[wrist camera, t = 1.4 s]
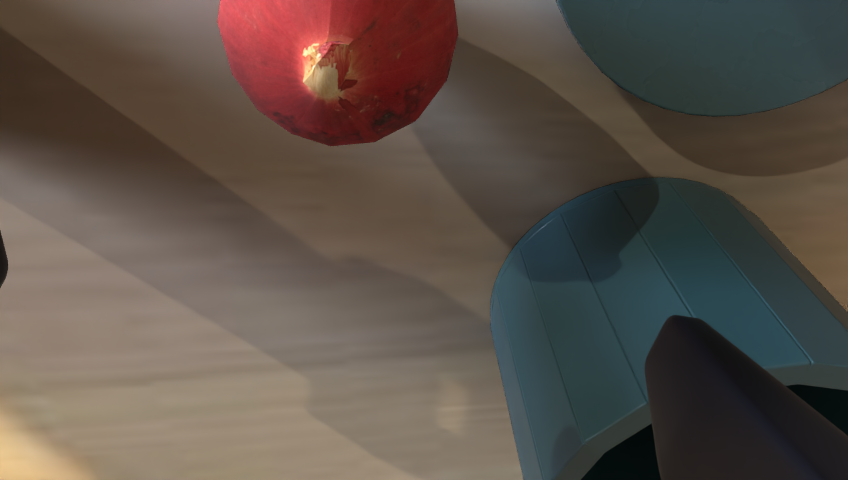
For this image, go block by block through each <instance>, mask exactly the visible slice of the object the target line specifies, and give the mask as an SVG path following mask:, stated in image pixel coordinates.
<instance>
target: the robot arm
mask: <svg viewBox="0 0 848 480" xmlns="http://www.w3.org/2000/svg"><path fill="white" fill-rule="evenodd" d="M7 271H8V259H7V255H6V251H5V247H4V243H3V239H2V235H1V231H0V288H1V286H2V284H3V282H4V280H5V278H6V275H7ZM645 379H646V386H647V393H648V400H649V407H650V414H651V421H652V428H653V435H654V442H655V449H656V456H657V462H658V467H659V473H660V477H661V480H848V436H847V435H846V434H845V433H844V432H842V431H841V430H840V429H839V428H837V427H836V426H835V425H834V424H832V423H831V422H830V421H829V420H827V419H826V418H825V417H824V416H822V415H821V414H820V413H819V412H817V411H816V410H815V409H814V408H812V407H811V406H810V405H809V404H807V403H806V402H805V401H804V400H802V399H801V398H800V397H799V396H797V395H796V394H795V393H794V392H792V391H791V390H790V389H789V388H787V387H786V386H785V385H784V384H782V383H781V382H780V381H779V380H777V379H776V378H775V377H774V376H772V375H771V374H770V373H769V372H767V371H766V370H765V369H764V368H762V367H761V366H760V365H759V364H757V363H756V362H755V361H754V360H752V359H751V358H750V357H749V356H747V355H746V354H745V353H744V352H742V351H741V350H740V349H739V348H737V347H736V346H735V345H734V344H732V343H731V342H730V341H729V340H727V339H726V338H725V337H724V336H722V335H721V334H720V333H719V332H717V331H716V330H715V329H714V328H712V327H711V326H710V325H709V324H707V323H706V322H705V321H703V320H702V319H699V318H694V317H688V316H681V315H673V316H670V317H669V318H668V319H667V320H666V321H665V323H664V324H663V326H662V328H661V330H660V332H659V334H658V336H657V338H656V339H655V341H654V343H653V345H652V347H651V349H650V351H649V353H648V355H647V358H646V361H645Z"/></svg>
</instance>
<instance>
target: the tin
mask: <svg viewBox="0 0 848 480" xmlns="http://www.w3.org/2000/svg"><path fill="white" fill-rule="evenodd" d="M673 315H681V316H688V317H694V318H699V319H702V320H703V321H705V322H706V323H707V324H709V325H710V326H711V327H712V328H714V329H715V330H716V331H717V332H719V333H720V334H721V335H722V336H724V337H725V338H726V339H727V340H729V341H730V342H731V343H732V344H734V345H735V346H736V347H737V348H739V349H740V350H741V351H742V352H744V353H745V354H746V355H747V356H749V357H750V358H751V359H752V360H754V361H755V362H756V363H757V364H759V365H760V366H761V367H762V368H764V369H765V370H766V371H767V372H769V373H770V374H771V375H772V376H774V377H775V378H776V379H777V380H779V381H780V382H781V383H782V384H784V385H785V386H786V387H787V388H789V389H790V390H791V391H792V392H794V393H795V394H796V395H797V396H799V397H800V398H801V399H802V400H804V401H805V402H806V403H807V404H809V405H810V406H811V407H812V408H814V409H815V410H816V411H817V412H819V413H820V414H821V415H822V416H824V417H825V418H826V419H827V420H829V421H830V422H831V423H832V424H834V425H835V426H836V427H837V428H839V429H840V430H841V431H842V432H844V433H845V434H846V435H847V436H848V312H847V311H846V310H845V309H844V308H843V307H842V306H841V305H840V304H839V302H838V301H837V300H836V299H835V298H834V297H833V296H832V295H831V294H830V293H829V292H828V291H827V290H826V289H825V288H824V287H823V286H822V284H821V283H820V282H819V281H818V280H817V279H816V278H815V277H814V276H813V275H812V274H811V273H810V272H809V271H808V270H807V269H806V268H805V266H804V265H803V264H802V263H801V262H800V261H799V260H798V259H797V258H796V257H795V256H794V255H793V254H792V253H791V252H790V251H789V250H788V249H787V247H786V246H785V245H784V244H783V243H782V242H781V241H780V240H779V239H778V238H777V237H776V236H775V235H774V234H773V233H772V232H771V231H770V229H769V228H768V227H767V226H766V225H765V224H764V223H763V222H762V221H761V220H760V219H759V218H758V217H757V216H756V215H755V214H754V213H752V212H751V211H749V210H748V209H747V208H746V207H745V206H743V205H742V204H741V203H740V202H738V201H737V200H736V199H735V198H733V197H732V196H730V195H728V194H727V193H725V192H723V191H721V190H719V189H717V188H714V187H712V186H709V185H706V184H703V183H700V182H695V181H690V180H686V179H677V178H665V177H662V178H642V179H636V180H629V181H623V182H619V183H615V184H612V185H608V186H604V187H601V188H599V189H596V190H593V191H591V192H588V193H586V194H583V195H581V196H579V197H577V198H575V199H573V200H571V201H569V202H567V203H565V204H564V205H562V206H561V207H559V208H557V209H556V210H554V211H553V212H551V213H550V214H548V215H547V216H546V217H544V218H543V219H542V220H541V221H540V222H538V223H537V224H536V225H535V226H533V227H532V228H531V229H530V230H529V231H528V232H527V233H526V234H525V235H524V236H523V237H522V239H521V240H520V241H519V242H518V243H517V244H516V246H515V247H514V248H513V250H512V251H511V252H510V254H509V255H508V257H507V258H506V260H505V262H504V264H503V265H502V267H501V269H500V271H499V274H498V276H497V279H496V281H495V284H494V288H493V292H492V297H491V306H490V316H491V323H490V325H491V332H492V336H493V341H494V346H495V350H496V355H497V359H498V364H499V369H500V373H501V378H502V382H503V387H504V392H505V396H506V401H507V406H508V410H509V415H510V419H511V424H512V429H513V433H514V438H515V442H516V447H517V452H518V456H519V461H520V465H521V470H522V475H523V479H524V480H661V477H660V473H659V467H658V462H657V456H656V449H655V442H654V435H653V428H652V421H651V414H650V407H649V400H648V393H647V386H646V379H645V361H646V358H647V355H648V353H649V351H650V349H651V347H652V345H653V343H654V341H655V339H656V338H657V336H658V334H659V332H660V330H661V328H662V326H663V324H664V323H665V321H666V320H667V319H668V318H669V317H670V316H673Z"/></svg>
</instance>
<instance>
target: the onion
mask: <svg viewBox="0 0 848 480" xmlns="http://www.w3.org/2000/svg"><path fill="white" fill-rule="evenodd" d="M217 22H218V26H219V29H220V33H221V36H222V40H223V43H224V47H225V50H226V54H227V57H228V61H229V64H230V68H231V71H232V75H233V76H234V77H235V79H236V80H237V82H238V83H239V84H240V86H241V87H242V89H243V90H244V91H245V93H246V94H247V96H248V97H249V98H250V100H251V101H252V102H253V104H254V105H255V107H256V108H257V109H258V110H259V111H260V112H262V113H263V114H264V115H266V116H267V117H269V118H270V119H271V120H273V121H274V122H276V123H277V124H278V125H280V126H281V127H283V128H284V129H285V130H287V131H288V132H290V133H291V134H294V135H297V136H300V137H303V138H306V139H310V140H313V141H316V142H319V143H322V144H325V145H328V146H339V145H349V144H359V143H370V142H376V141H378V140H379V139H381V138H383V137H385V136H387V135H389V134H391V133H393V132H395V131H397V130H399V129H401V128H403V127H405V126H407V125H409V124H411V123H413V122H415V121H416V120H417V119H418V118H419V116H420V115H421V114H422V112H423V111H424V110H425V108H426V107H427V106H428V104H429V103H430V102H431V101H432V99H433V98H434V97H435V95H436V94H437V93H438V91H439V90H440V89H441V87H442V86H443V85H444V83H445V82H446V81H447V78H448V74H449V70H450V66H451V62H452V58H453V53H454V49H455V45H456V41H457V37H458V29H457V20H456V12H455V3H454V0H220V6H219V14H218V21H217Z"/></svg>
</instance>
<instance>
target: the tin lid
mask: <svg viewBox="0 0 848 480" xmlns="http://www.w3.org/2000/svg"><path fill="white" fill-rule="evenodd" d="M556 3H557V5H558V7H559V10H560V12H561V14H562V16H563V18H564V21H565V23H566V25H567V27H568V29H569V30H570V32H571V33H572V35H573V36H574V38H575V40H576V41H577V43H578V44H579V46H580V47H581V49H582V50H583V51H584V52H585V53H586V55H587V56H588V57H589V58H590V59H591V60H592V61H593V63H594V64H595V65H596V66H597V67H598V68H599V69H600V70H601V72H602V73H604V74H605V75H606V76H607V77H609V78H610V79H611V80H612V81H613V82H615V83H616V84H617V85H618V86H619V87H621V88H622V89H624V90H626V91H627V92H629V93H631V94H632V95H634V96H636V97H638V98H639V99H641V100H643V101H646V102H648V103H651V104H653V105H656V106H658V107H661V108H663V109H667V110H672V111H676V112H680V113H684V114H690V115H701V116H712V117H715V116H740V115H746V114H752V113H759V112H765V111H769V110H772V109H776V108H780V107H783V106H787V105H791V104H794V103H796V102H799V101H801V100H804V99H807V98H809V97H812V96H814V95H817V94H820V93H822V92H824V91H826V90H827V89H829V88H831V87H833V86H835V85H837V84H839V83H841V82H843V81H845V80H847V79H848V0H556Z"/></svg>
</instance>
